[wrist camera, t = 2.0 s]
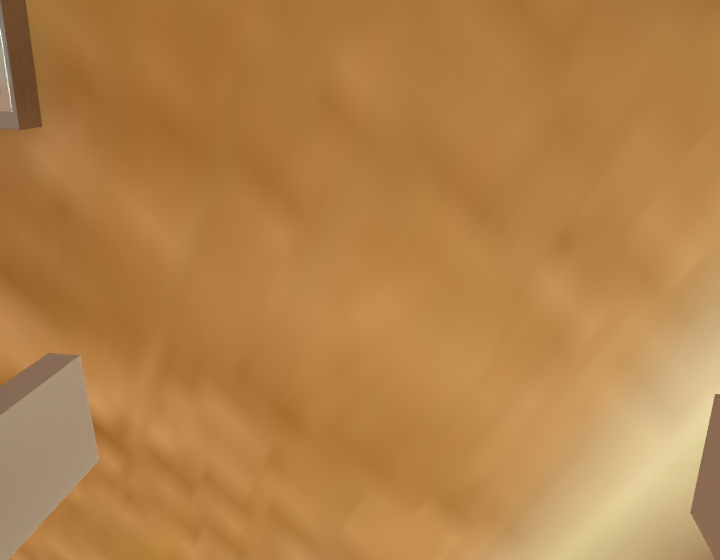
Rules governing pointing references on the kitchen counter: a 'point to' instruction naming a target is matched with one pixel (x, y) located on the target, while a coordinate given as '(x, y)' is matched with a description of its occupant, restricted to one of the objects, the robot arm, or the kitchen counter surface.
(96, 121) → the kitchen counter surface
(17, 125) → the breaker panel
